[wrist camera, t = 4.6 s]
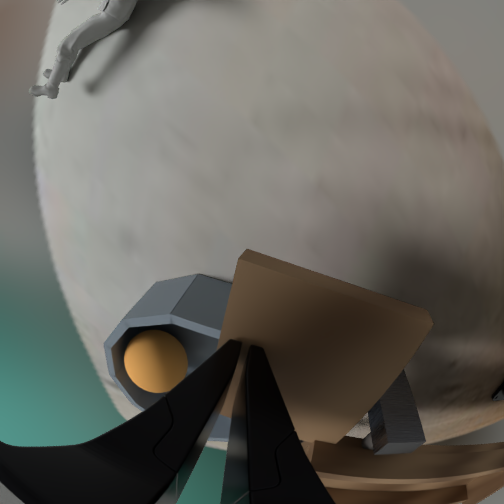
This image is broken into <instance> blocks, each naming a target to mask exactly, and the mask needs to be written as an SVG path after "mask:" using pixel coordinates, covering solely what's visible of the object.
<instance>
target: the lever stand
mask: <svg viewBox="0 0 504 504" xmlns="http://www.w3.org/2000/svg"><path fill="white" fill-rule="evenodd" d="M368 417H369V423H370V430H371V437H372V444H373V452H374V455H381V454H404V453H412V452H413V451H414V450H416V449H417V448H418V447H419V446H421V445H422V444H423V443H424V442H426V440H425V436H424V432H423V428H422V425H421V421H420V418H419V414H418V411H417V408H416V405H415V401H414V398H413V395H412V392H411V389H410V386H409V383H408V380H407V377H406V374H405V372H404V369H403V370H402V372H401V373H400V374H399V375H398V377H397V378H396V379H395V381H394V382H393V383H392V384H391V386H390V387H389V388H388V389H387V390H386V392H385V393H384V394H383V395H382V396H381V398H380V399H379V400H378V401H377V402H376V403H375V404H374V406H373V407H372V408H371V409H370V410H369V411H368ZM300 442H301V443H302V442H303V440H300Z"/></svg>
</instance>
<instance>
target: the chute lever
mask: <svg viewBox="0 0 504 504" xmlns="http://www.w3.org/2000/svg"><path fill="white" fill-rule="evenodd" d="M433 325H434V323H433V321H432V319H431V317H430V315H429V313H428V311H427V310H426V309H423V308H420V307H417V306H414V305H411V304H408V303H405V302H402V301H399V300H396V299H393V298H390V297H388V296H385V295H382V294H379V293H376V292H373V291H370V290H367V289H364V288H361V287H358V286H355V285H352V284H349V283H346V282H344V281H341V280H338V279H335V278H332V277H329V276H326V275H323V274H320V273H317V272H314V271H311V270H308V269H305V268H302V267H299V266H296V265H294V264H291V263H288V262H285V261H282V260H279V259H276V258H273V257H270V256H267V255H264V254H261V253H258V252H255V251H252V250H249V249H246V250H245V251H244V253H243V254H242V255H241V256H240V257H239V258H238V262H237V266H236V270H235V274H234V279H233V283H232V287H231V291H230V295H229V299H228V303H227V308H226V312H225V316H224V320H223V325H222V329H221V333H220V337H219V342H218V346H217V350H218V349H219V348H220V347H221V346H222V345H223V344H225V343H226V342H227V341H228V340H229V339H234V340H238V341H241V342H242V347H241V351H240V355H239V359H238V363H237V366H236V369H235V372H234V375H233V379H232V382H231V385H230V388H229V391H228V394H227V397H226V400H225V403H224V405H223V408H222V410H221V412H220V414H221V415H223V416H226V417H229V418H231V416H232V409H233V403H234V399H235V396H236V392H237V388H238V385H239V381H240V377H241V373H242V370H243V366H244V363H245V360H246V357H247V354H248V351H249V348H250V346H251V345H256V346H260V347H263V348H264V350H265V353H266V356H267V358H268V361H269V364H270V366H271V369H272V371H273V374H274V377H275V379H276V382H277V384H278V387H279V390H280V392H281V395H282V397H283V400H284V402H285V405H286V407H287V410H288V412H289V415H290V417H291V420H292V422H293V425H294V427H295V430H294V431H296V432H297V435H298V437H299V440H303V442H302V443H301V444H302V446H303V449H304V451H305V453H306V455H307V457H308V459H309V461H310V462H311V464H312V466H313V468H314V469H315V471H316V473H317V474H318V476H319V478H320V479H321V481H322V483H323V484H324V486H325V488H326V489H327V491H328V492H329V494H330V496H331V497H332V499H333V500H334V502H335V503H336V504H458V503H462V504H477V503H478V502H480V501H482V500H483V499H485V498H487V497H488V496H490V495H492V494H493V493H495V492H496V491H498V490H499V489H500V488H502V487H503V486H504V442H499V443H490V444H478V445H456V446H454V445H453V446H441V445H440V446H439V445H421V446H419V447H418V448H417V449H416V450H414V451H413V452H412V453H404V454H381V455H374V452H373V444H372V437H371V432H370V433H369V434H368V435H367V436H366V437H365V438H364V439H362V438H355V437H350V436H345V435H346V434H347V433H348V432H349V431H350V430H351V429H352V428H353V427H354V426H355V425H356V424H357V423H358V422H359V421H360V420H361V419H362V418H363V416H364V415H365V414H366V413H367V412H368V411H369V410H370V409H371V408H372V407H373V406H374V404H375V403H376V402H377V401H378V400H379V399H380V398H381V396H382V395H383V394H384V393H385V392H386V390H387V389H388V388H389V387H390V386H391V384H392V383H393V382H394V381H395V379H396V378H397V377H398V375H399V374H400V373H401V372H402V370H403V369H404V368H405V366H406V365H407V364H408V362H409V361H410V359H411V358H412V357H413V355H414V354H415V352H416V351H417V349H418V348H419V347H420V345H421V344H422V342H423V341H424V339H425V338H426V336H427V334H428V333H429V331H430V330H431V328H432V327H433ZM217 350H216V351H217Z"/></svg>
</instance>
